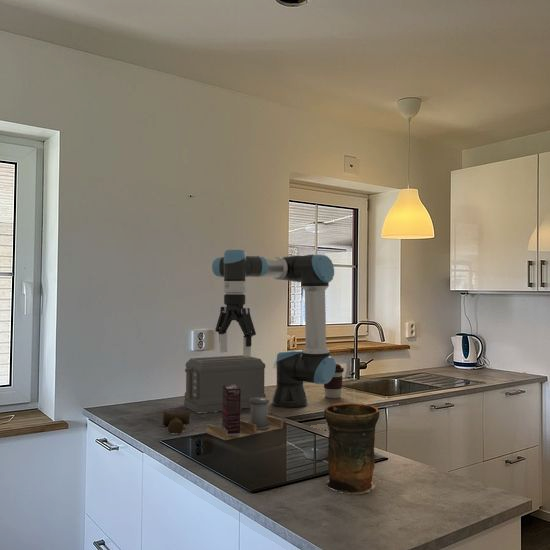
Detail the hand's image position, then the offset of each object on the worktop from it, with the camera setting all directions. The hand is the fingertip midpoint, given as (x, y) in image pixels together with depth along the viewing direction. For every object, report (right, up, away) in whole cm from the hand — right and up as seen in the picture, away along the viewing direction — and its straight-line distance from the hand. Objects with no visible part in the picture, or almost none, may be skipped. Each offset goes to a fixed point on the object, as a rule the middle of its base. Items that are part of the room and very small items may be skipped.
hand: (234, 354), depth 197 cm
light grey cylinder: (+8, -26, +2) cm, 28 cm away
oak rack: (+4, -27, -2) cm, 28 cm away
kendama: (-22, -28, +6) cm, 36 cm away
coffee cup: (+41, -29, +63) cm, 81 cm away
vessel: (+34, -27, -52) cm, 67 cm away
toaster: (-7, -28, +42) cm, 51 cm away
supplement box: (-1, -26, -5) cm, 27 cm away
